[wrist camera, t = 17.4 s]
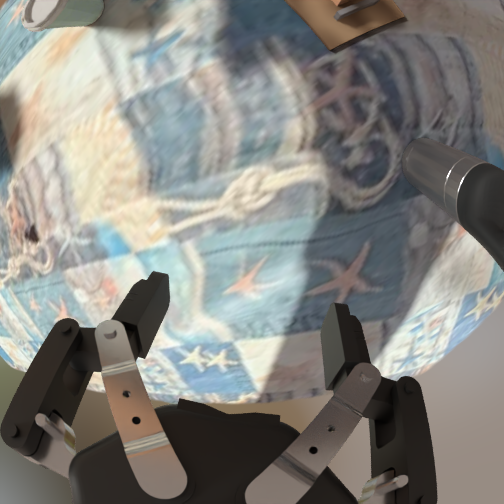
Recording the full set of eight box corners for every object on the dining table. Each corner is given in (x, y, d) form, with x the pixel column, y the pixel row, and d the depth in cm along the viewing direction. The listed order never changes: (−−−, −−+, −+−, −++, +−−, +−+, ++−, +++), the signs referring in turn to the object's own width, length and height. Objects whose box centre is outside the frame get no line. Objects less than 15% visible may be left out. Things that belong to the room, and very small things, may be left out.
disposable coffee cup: (108, -19, 23) (60, -38, 10) (120, 14, 28) (68, -3, 15) (67, 13, 26) (16, 6, 13) (78, 47, 31) (22, 44, 18)
